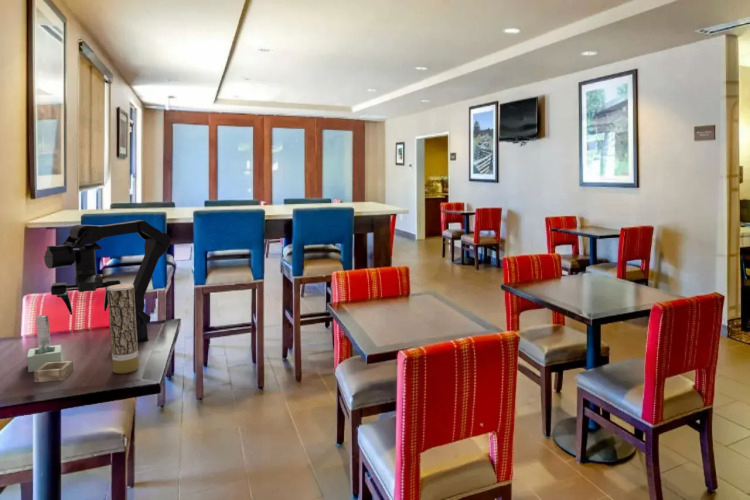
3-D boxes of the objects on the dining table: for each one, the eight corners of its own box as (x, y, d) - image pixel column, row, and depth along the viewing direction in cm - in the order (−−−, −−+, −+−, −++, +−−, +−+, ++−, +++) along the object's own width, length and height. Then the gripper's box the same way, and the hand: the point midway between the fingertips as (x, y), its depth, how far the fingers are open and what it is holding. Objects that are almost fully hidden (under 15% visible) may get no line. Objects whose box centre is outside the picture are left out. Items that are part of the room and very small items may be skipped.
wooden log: (121, 376, 134) (115, 289, 131) (108, 371, 138) (102, 287, 134) (144, 368, 140) (138, 285, 136) (130, 364, 143) (125, 283, 140)
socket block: (62, 358, 148) (60, 344, 147) (61, 366, 141) (60, 352, 140) (30, 363, 144) (29, 349, 143) (28, 372, 137) (27, 357, 136)
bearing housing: (73, 370, 138) (72, 360, 138) (63, 380, 131) (62, 369, 131) (46, 372, 137) (45, 362, 136) (34, 382, 130) (33, 371, 129)
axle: (53, 359, 144) (50, 314, 142) (49, 363, 141) (45, 317, 139) (42, 360, 143) (38, 315, 141) (37, 363, 140) (33, 318, 138)
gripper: (48, 270, 138) (52, 322, 140) (120, 265, 148) (123, 314, 150) (50, 265, 148) (53, 314, 150) (118, 261, 157) (120, 307, 159)
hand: (88, 312), depth 152 cm, fingers open, 9 cm apart
